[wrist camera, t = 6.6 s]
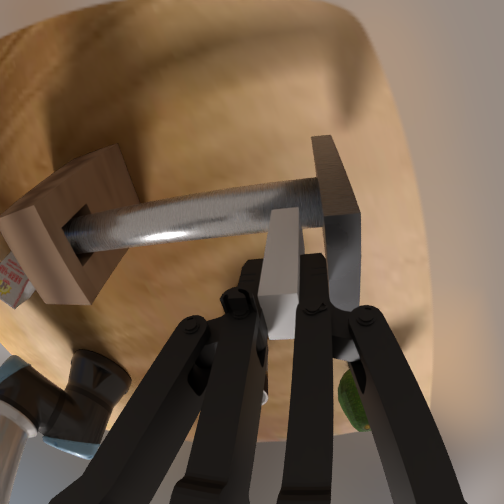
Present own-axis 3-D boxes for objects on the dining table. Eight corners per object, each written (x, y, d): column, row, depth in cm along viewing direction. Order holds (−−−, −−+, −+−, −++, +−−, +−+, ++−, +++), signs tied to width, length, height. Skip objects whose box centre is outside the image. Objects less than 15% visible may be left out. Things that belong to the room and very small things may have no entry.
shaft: (90, 236, 30) (28, 315, 21) (67, 188, 27) (-9, 260, 17) (337, 204, 24) (358, 315, 15) (330, 134, 21) (360, 212, 11)
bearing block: (103, 229, 36) (45, 303, 25) (73, 159, 30) (-6, 220, 19) (147, 222, 34) (91, 305, 23) (117, 143, 28) (34, 205, 18)
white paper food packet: (47, 274, 43) (16, 315, 36) (20, 257, 42) (-11, 295, 34) (46, 259, 41) (12, 302, 33) (18, 243, 40) (-16, 281, 32)
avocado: (391, 363, 45) (399, 426, 36) (357, 382, 49) (360, 441, 40) (361, 347, 43) (367, 418, 34) (326, 369, 48) (326, 434, 38)
